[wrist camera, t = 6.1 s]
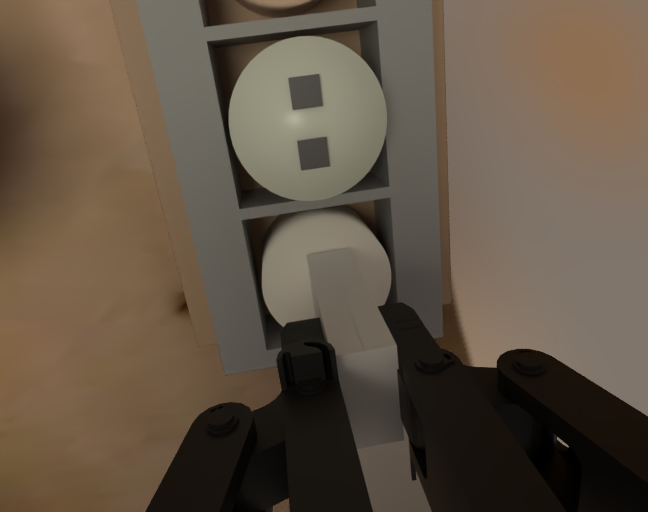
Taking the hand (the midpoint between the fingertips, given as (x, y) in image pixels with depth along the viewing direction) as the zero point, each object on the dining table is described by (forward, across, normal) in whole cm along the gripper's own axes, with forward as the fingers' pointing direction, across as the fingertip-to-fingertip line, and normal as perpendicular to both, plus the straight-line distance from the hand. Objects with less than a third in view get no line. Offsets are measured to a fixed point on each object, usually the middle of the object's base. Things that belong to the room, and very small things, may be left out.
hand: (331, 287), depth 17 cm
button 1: (+4, 0, 0) cm, 4 cm away
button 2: (+3, 0, +6) cm, 6 cm away
